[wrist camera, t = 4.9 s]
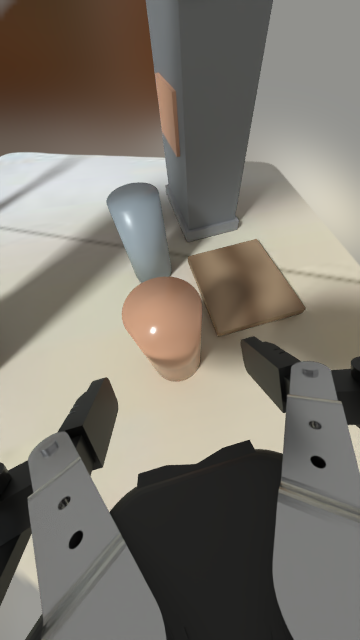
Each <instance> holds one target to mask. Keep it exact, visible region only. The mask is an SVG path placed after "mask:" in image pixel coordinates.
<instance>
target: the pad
mask: <svg viewBox="0 0 360 640" xmlns="http://www.w3.org/2000/svg"><path fill="white" fill-rule="evenodd" d="M188 263H189V265H190V268H191V270H192V273H193V275H194V278H195V280H196V283H197V285H198V288H199V290H200V293H201V295H202V298H203V300H204V303H205V305H206V308H207V310H208V313H209V315H210V318H211V320H212V323H213V325H214V328H215V330H216V333H217V335H218V337H219V336H222V335H226V334H230V333H233V332H237V331H240V330H244V329H247V328H251V327H254V326H258V325H261V324H265V323H269V322H272V321H276V320H279V319H283V318H286V317H290V316H293V315H297V314H300V313H302V312H303V311H304V310H305V309H306V308H305V306H304V305H303V304H302V302H301V301H300V299H299V298H298V297H297V295H296V294H295V292H294V291H293V290H292V288H291V287H290V285H289V284H288V282H287V281H286V280H285V278H284V277H283V275H282V274H281V273H280V271H279V270H278V268H277V267H276V265H275V264H274V263H273V261H272V260H271V258H270V257H269V256H268V254H267V253H266V251H265V250H264V249H263V247H262V246H261V244H260V243H259V241H258V240H257V239H255V240H251V241H247V242H243V243H239V244H235V245H231V246H227V247H223V248H219V249H215V250H212V251H208V252H204V253H200V254H196V255H192V256H188Z"/></svg>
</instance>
